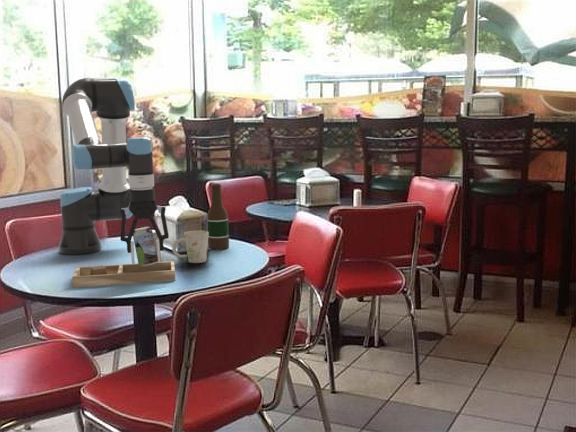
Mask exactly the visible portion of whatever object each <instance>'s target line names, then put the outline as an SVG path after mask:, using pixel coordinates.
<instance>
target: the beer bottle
mask: <svg viewBox="0 0 576 432" xmlns="http://www.w3.org/2000/svg"><path fill="white" fill-rule="evenodd" d="M210 187H211V204H210V207H209V209H208V211H207V214H206V225H207V228H206V229H207V231H208V233H209V234H208V246H207V248H208V249H210V250H212V251H221V250H226V249H229V247H230V233H229V230H230V229H229V215H228V211H227V209H226V208H225V206H224V205H223V198H222V197H223V196H222V189H221V188H222V184H221V183H212V184H211V185H210Z"/></svg>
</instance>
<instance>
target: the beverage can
mask: <svg viewBox="0 0 576 432" xmlns="http://www.w3.org/2000/svg"><path fill="white" fill-rule="evenodd" d="M154 237H155V236H154V233H153V230H152V228H151V227H150V226H143V227H139V228H135V230H134V233H133V236H132V238H133V242H134V250H135V252H136V258H137V263H138V264H139V265H141V266H149V265H153V264H155V263H156V262H158V254H157V246H156V243H155V238H154Z"/></svg>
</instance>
